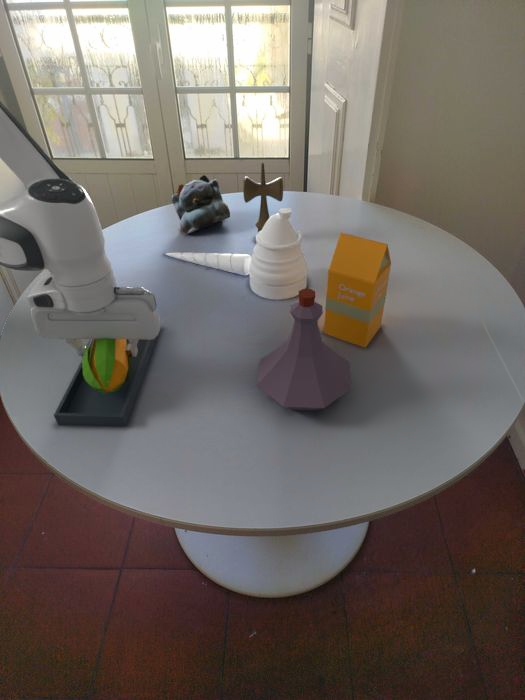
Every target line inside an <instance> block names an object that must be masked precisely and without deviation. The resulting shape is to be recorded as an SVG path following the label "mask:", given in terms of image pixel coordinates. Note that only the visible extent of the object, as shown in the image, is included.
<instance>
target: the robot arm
mask: <svg viewBox="0 0 525 700" xmlns="http://www.w3.org/2000/svg"><path fill="white" fill-rule="evenodd" d="M0 159H1V161H2V162H3V163H4V164H5V165H6V166H7V167H8V168H9V169H10V170H11V172H12V173H13V174H14V175H15V176H16V177H17V178H18V179H19V180H20V181H21V183H23V185H24V186H25V189H26V190H24V191H22V192H20V193H18V194H17V195H14V196H13V197H11V198H9V199H6V200H5V201H3V202H1V203H0V266H2V267H4V268H7V269H9V270H10V269H11V270H15V271H23V272H25V271H26V272H39V271H43V270H47V271H48V272H49V273H48V274H45V275H43V276H42V277H41V278H39V280H38V281H37V282H36V283H35V284H34V286H33V287H32V288H31V289H30V291H29V292H28V294H27V296H26V300H27V303H28V305H29V306H30V307H31V309H30V316H31V319H32V324H33V326H34V329H35V330H36V332H37V334H38V335H39V336H40V337H42V338H44V339H47V340H48V339H49V340H50V339H51V340H52V339H53V340H57V339H58V340H62V339H63V340H65V342H66V343H67V344H68V345H69V346H71V347H72V348H73V349H74V350H76V352H77V355H78V357H83V355H84V351H85V349H86V347H87V345H88V343H89V342H83V341H82V340H93V339H104V338H106V339H129V343H132V344H128V345H127V348H126V350H125V351H126V353H127V357H136V356H137V353H138V349H137V343H138V341H139V339H141V340H152V339H155V338H156V336H157V335H158V336H159V334H160V332H159V331H161V328H162V321H161V318H160V314H159V312H158V309H157V301H156V300H157V299H156V297H155V296H156V295H155V294H154V293H153V292H151V291H149V290H148V289H145V287H142V286H135V287H128V286H118V285H117V281H116V280H117V279H116V276H115V273H114V269H113V266H112V262H111V260H110V259H109V256H107V254H106V250H105V249H106V248H105V247H106V240H105V236H104V231H103V229H102V225H101V222H100V218H99V216H98V212H97V210H96V207H95V206H94V203H93V201H92V199H91V197H90V196H89V194H88V193H87V190H86V189H85V188H84V187H83V186H82V185H80V184H79V183H78V182H75V181H74V179H72V178H71V177H69V176H68V175H67V174H66V173H65V172H64V171H63V170H62V169H60V168H59V166H58V165H57V164H56V163H55V162H54V161H53V160H52V159H51V158H50V156H49V155H48V154H47V153H46V152H45V150H44V149H43V148H42V147H41V146H40V145H39V144H38V142H37V141H36V140H35V139H34V137H32V135H31V134H30V133H29V132H28V131H27V129H26V128H25V127H24V126H23V125H22V123H20V121H19V120H18V119H17V118H16V117H15V115H14V114H13V113H12V112H11V111H10V109H8V107H7V106H6V105H5V104H4V103H3V102H2V101H1V100H0ZM158 333H159V334H158ZM89 353H90V348H89V347H88V354H89Z"/></svg>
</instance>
